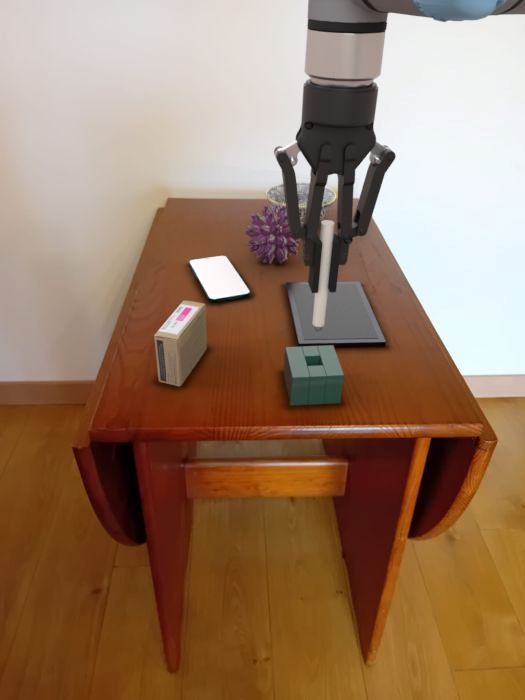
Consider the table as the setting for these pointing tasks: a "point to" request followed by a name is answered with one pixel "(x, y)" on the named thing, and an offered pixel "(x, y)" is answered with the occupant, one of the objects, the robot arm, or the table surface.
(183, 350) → the ink box
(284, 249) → the flower
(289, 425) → the table surface
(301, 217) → the bowl
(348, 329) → the tablet
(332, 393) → the pen block
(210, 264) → the smartphone
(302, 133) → the robot arm
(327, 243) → the stylus
